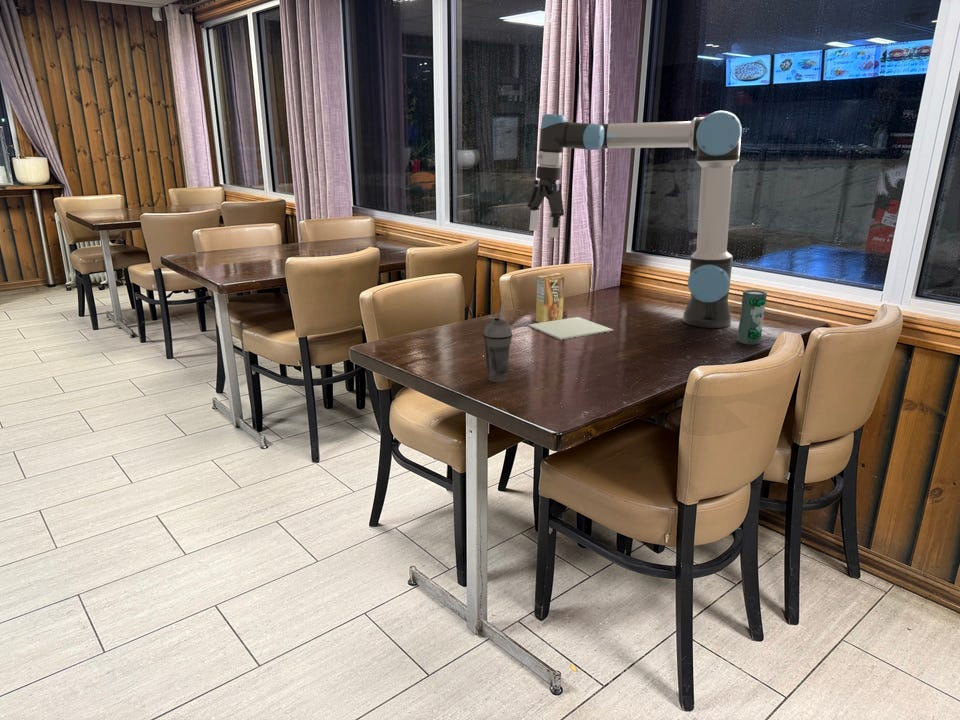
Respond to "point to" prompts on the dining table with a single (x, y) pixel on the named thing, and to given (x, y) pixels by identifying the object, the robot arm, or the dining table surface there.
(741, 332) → the can
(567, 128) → the robot arm
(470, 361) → the dining table surface
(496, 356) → the beverage cup
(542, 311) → the candy box
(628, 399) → the dining table surface
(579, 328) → the mat
